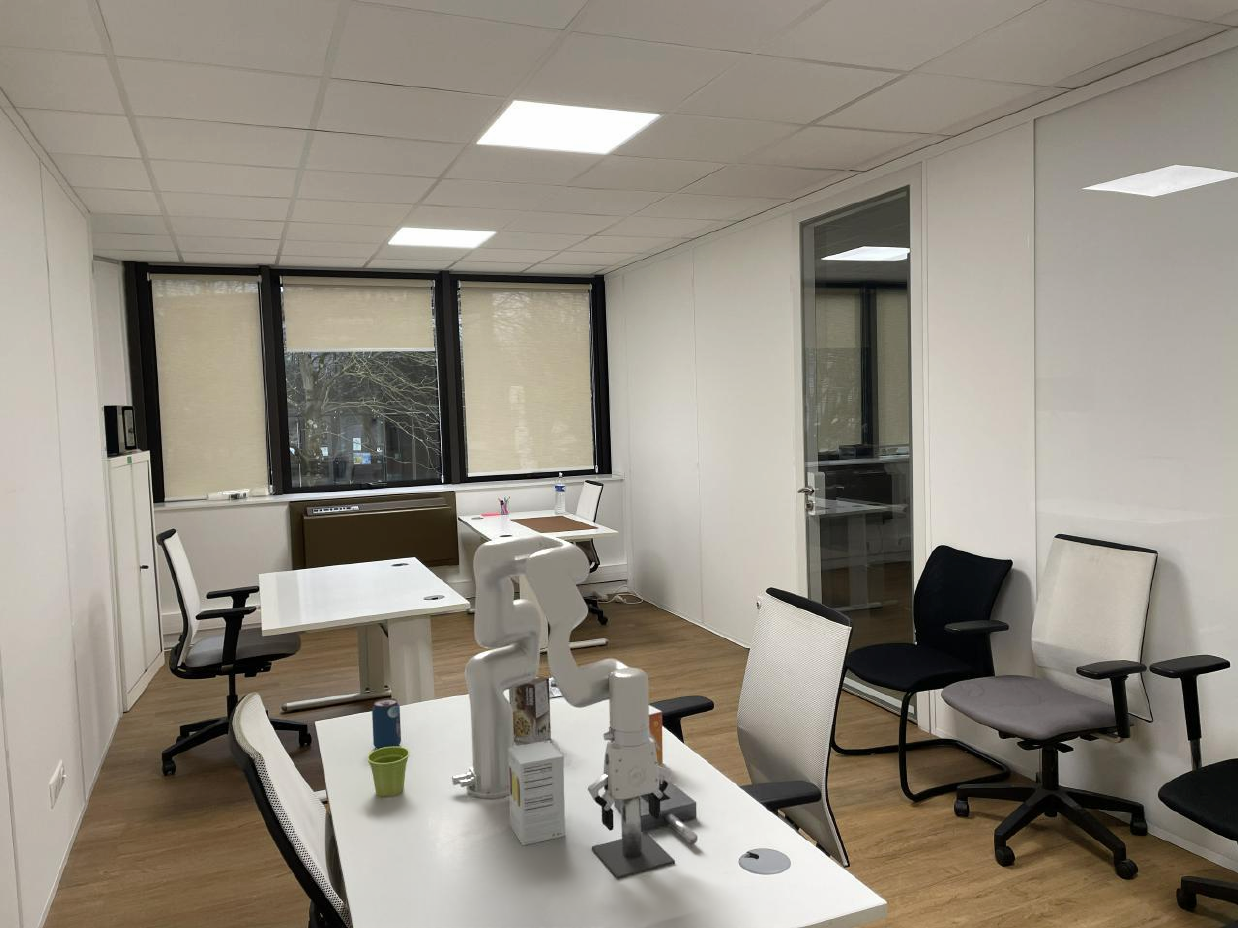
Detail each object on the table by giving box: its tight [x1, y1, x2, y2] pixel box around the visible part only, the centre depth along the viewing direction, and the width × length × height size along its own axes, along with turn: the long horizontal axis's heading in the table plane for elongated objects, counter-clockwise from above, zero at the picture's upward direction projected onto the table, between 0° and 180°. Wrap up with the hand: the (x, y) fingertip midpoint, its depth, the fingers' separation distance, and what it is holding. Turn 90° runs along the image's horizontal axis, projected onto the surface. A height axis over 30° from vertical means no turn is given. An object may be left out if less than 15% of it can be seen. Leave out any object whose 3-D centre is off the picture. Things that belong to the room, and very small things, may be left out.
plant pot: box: [366, 746, 411, 798], centre depth 194 cm, size 9×9×9 cm
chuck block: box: [613, 780, 698, 845], centre depth 176 cm, size 13×23×4 cm, turn 25°
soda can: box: [371, 697, 402, 750], centre depth 220 cm, size 7×7×12 cm
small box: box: [649, 704, 664, 765], centre depth 206 cm, size 8×6×13 cm
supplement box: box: [508, 740, 566, 846], centre depth 174 cm, size 10×9×17 cm
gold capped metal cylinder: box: [620, 796, 642, 859], centre depth 163 cm, size 4×4×13 cm
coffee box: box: [508, 675, 552, 744], centre depth 224 cm, size 9×6×16 cm
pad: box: [591, 832, 676, 880], centre depth 163 cm, size 12×12×1 cm
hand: (631, 821), depth 163 cm, fingers open, 9 cm apart
